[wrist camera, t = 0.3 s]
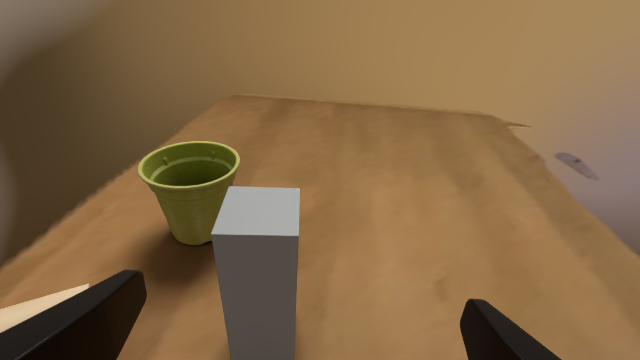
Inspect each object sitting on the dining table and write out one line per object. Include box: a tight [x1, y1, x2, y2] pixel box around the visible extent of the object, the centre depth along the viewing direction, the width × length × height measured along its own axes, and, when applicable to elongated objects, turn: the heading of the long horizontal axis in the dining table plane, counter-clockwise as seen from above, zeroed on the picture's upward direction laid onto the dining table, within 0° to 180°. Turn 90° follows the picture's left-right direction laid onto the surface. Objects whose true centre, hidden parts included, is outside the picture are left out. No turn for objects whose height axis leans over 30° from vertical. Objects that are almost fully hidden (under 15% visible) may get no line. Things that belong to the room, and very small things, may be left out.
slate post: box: [211, 186, 300, 360], centre depth 21 cm, size 4×4×13 cm
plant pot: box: [138, 141, 240, 245], centre depth 33 cm, size 9×9×9 cm
